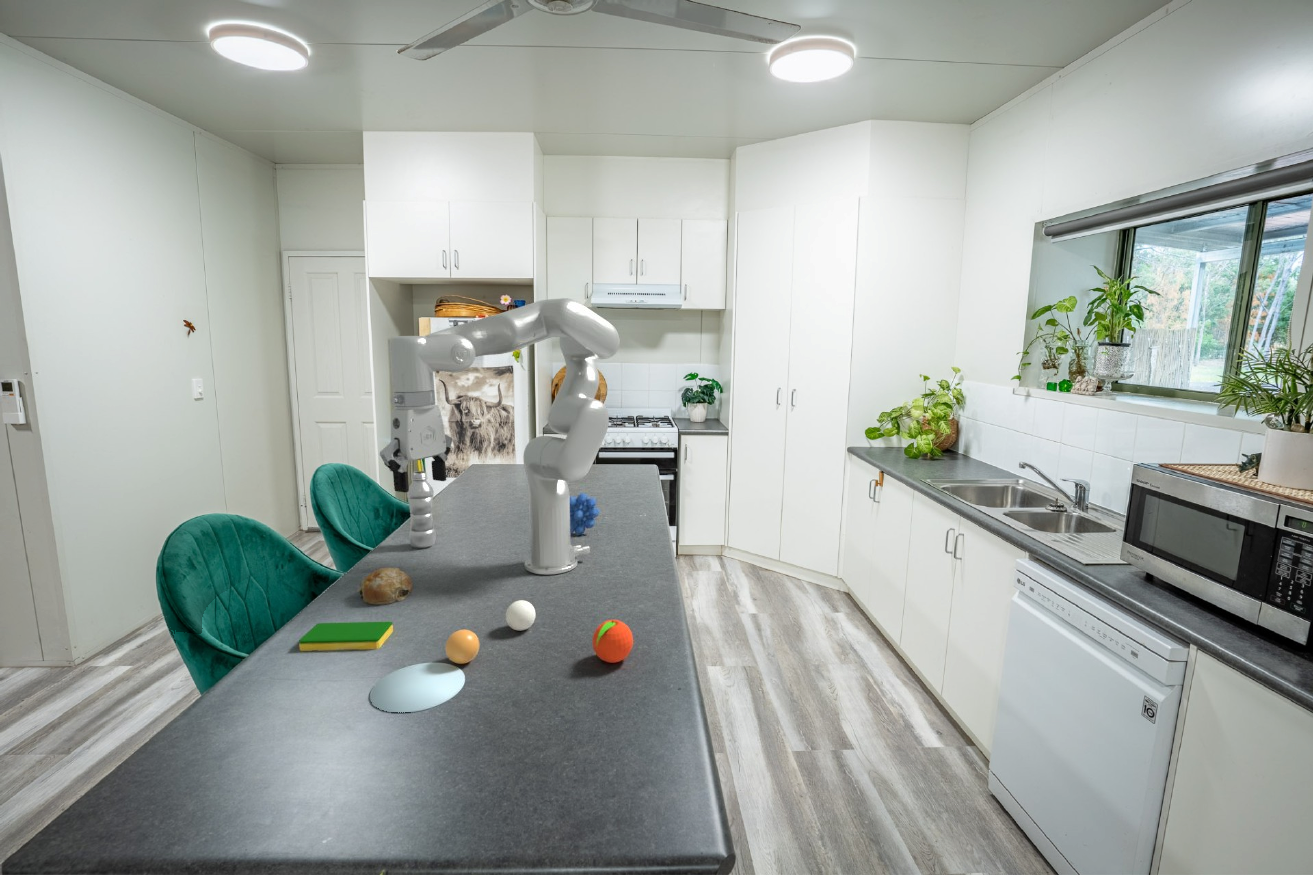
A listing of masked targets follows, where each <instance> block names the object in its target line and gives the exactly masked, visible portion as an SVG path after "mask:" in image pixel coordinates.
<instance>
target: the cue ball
mask: <svg viewBox="0 0 1313 875" xmlns="http://www.w3.org/2000/svg"><path fill="white" fill-rule="evenodd" d="M535 619H536V609H535V607H534V605H533V604H532V603H531V602H529V601H527V600H522V599H521V600H516V601H513V602H512V603H511V604H510V605H509V606H508V607H507V610H506V612H505V621H506V623H507V625H508V627H510V628H511V629H512V630H515V631H526V630H528V629H529V628H530V627H531V626H532V625H533V624H534V622H535Z"/></svg>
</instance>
